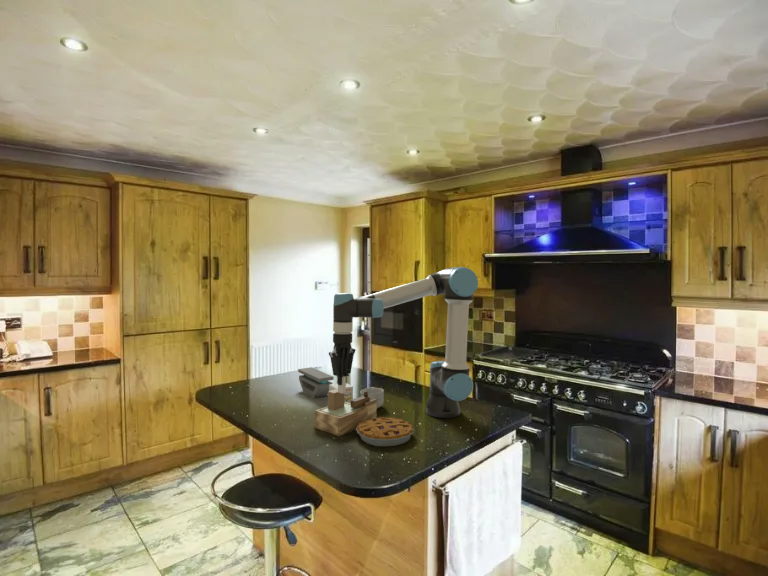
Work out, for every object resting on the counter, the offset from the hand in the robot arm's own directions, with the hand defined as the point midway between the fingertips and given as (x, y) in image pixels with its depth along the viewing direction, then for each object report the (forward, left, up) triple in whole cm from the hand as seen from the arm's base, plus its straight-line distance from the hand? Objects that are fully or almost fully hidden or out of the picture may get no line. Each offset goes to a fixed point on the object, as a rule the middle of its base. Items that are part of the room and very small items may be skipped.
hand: (341, 392), depth 166 cm
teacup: (+10, -31, -15) cm, 36 cm away
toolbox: (+3, -7, -15) cm, 17 cm away
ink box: (+17, -17, -15) cm, 29 cm away
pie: (-17, -6, -16) cm, 24 cm away
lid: (+3, -3, -9) cm, 10 cm away
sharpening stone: (+46, -28, -15) cm, 56 cm away
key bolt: (0, -11, -8) cm, 13 cm away
